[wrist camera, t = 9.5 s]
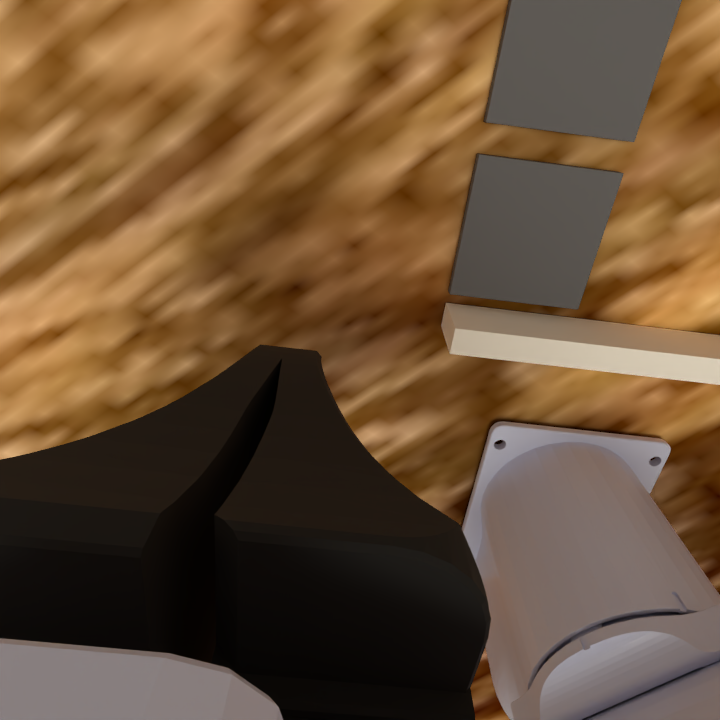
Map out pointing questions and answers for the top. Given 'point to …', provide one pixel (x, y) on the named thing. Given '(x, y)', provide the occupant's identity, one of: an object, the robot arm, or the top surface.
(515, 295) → the trap pits
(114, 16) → the top surface
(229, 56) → the top surface
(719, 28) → the top surface
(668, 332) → the lane box
